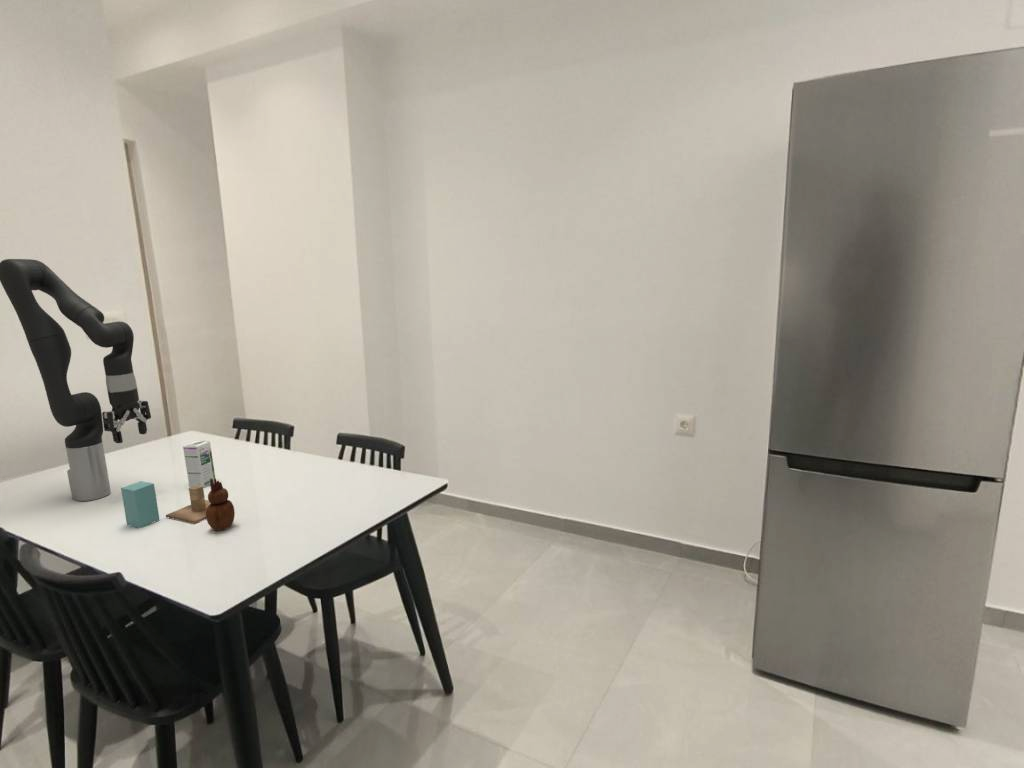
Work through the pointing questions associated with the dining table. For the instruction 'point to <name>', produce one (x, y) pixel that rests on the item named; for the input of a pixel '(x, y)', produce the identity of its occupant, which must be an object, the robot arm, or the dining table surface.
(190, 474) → the syrup box
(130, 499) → the tall teal pillar
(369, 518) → the dining table surface
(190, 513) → the brown base plate
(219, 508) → the wooden figurine
